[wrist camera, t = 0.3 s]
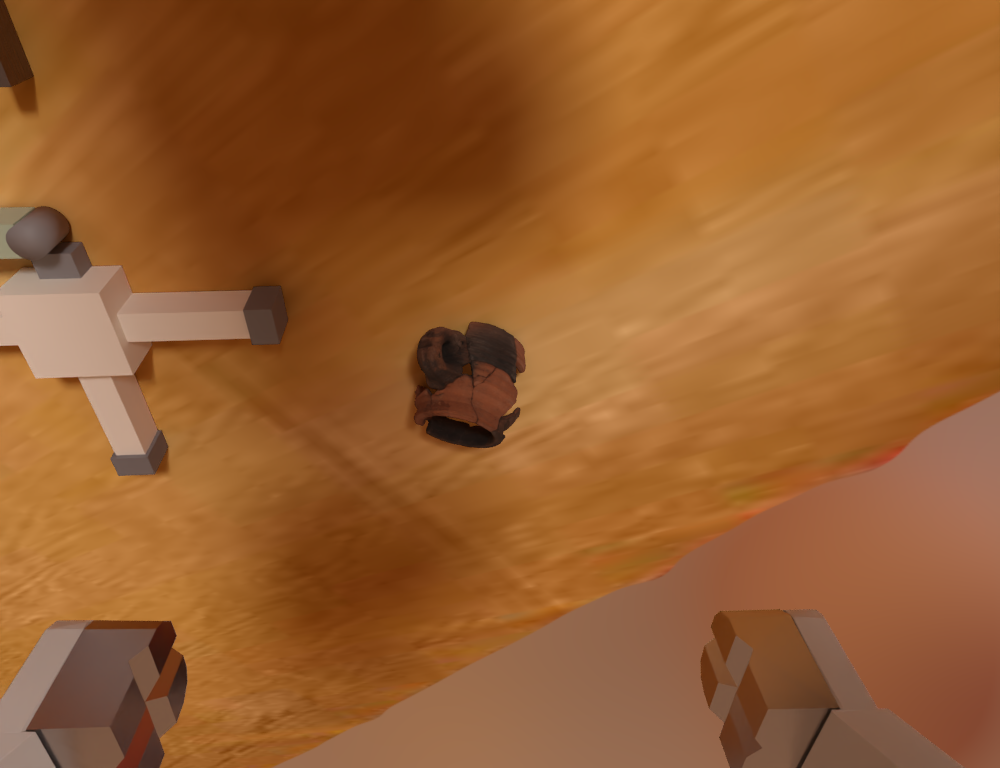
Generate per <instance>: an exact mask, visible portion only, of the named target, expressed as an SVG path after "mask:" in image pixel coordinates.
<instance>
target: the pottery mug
mask: <svg viewBox="0 0 1000 768" xmlns="http://www.w3.org/2000/svg"><path fill="white" fill-rule="evenodd" d="M524 353H525V351H524V348H523V346H522V344H521V343H520V342H519V341H518V340H517V339H516V338H514V337H513V336H512V335H511V334H509V333H507V332H506V331H505V330H503V329H500V328H498V327H496V326H493V325H490V324H484V323H479V322H471V323H470V324H469V330H468V331H467V333H466V335H465V336H464V335H463V334H462V333H461V332H459V331H456V330H451V329H447V328H444V327H437V328H434V329H431V330H429V331H428V332H426V334H425V335H424V336H423V337H422V338H421V340H420V342H419V345H418V350H417V359H418V363H419V365H420V368H421V370H422V371H423V372H424V373H425V377H426V382H427V385H428V386H429V387H430V388H433V389H437V391H436V392H435V393H434V394H432V393H431V391H430V390H429V389H427V388H425V387H423V386H420V385H418V386H417V389H416V391H415V394H416V398H415V406H416V408H417V409H418V410H417V413H415V416H414V420H415V423H416V424H418V425H421V426H423V425H424V424H425V421H426V420H428V422H429V423H428V427H427V429H426V432H427V434H429V435H431V436H433V437H435V438H437V439H440V440H442V441H446V442H449V443H452V444H457V445H462V446H467V447H475V448H489V447H493V446H496V445H498V444H500V443H501V442H502V441H503V439H504V438H505V435H503V431H505V430H507V429H508V428H509V427H510V426H511V425H512V424H513V423H514V422H515V420H516V419H517V418H518V417H519V414H520V408H516V409H515V410H514V411H513V413H511V414H509V415H506V416H503V415H504V414H506V412H507V411H508V410H509V409H510V408H511V407H512V406H513V405H514V404H515V403H516V398H517V389H516V388H515V386H514V383H515V382H516V367H517V369H518V370H519V372H520V373H522V372H524V371H525V357H524ZM468 363H470V364H471V371H472V375H468V374H462V372H463V369H462V367H463V366H464V365H466V364H468ZM447 417H452V418H458V419H462V420H466V421H469V422H472V423H476V424H477V425H479V426H472V427H470V425H469V424H467V423H464V422H460V421H455V420H452V419H449V418H447Z"/></svg>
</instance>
